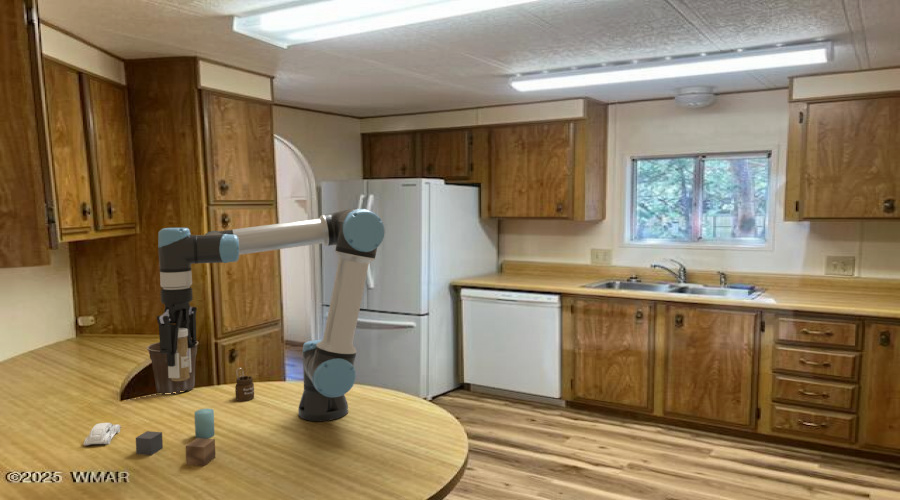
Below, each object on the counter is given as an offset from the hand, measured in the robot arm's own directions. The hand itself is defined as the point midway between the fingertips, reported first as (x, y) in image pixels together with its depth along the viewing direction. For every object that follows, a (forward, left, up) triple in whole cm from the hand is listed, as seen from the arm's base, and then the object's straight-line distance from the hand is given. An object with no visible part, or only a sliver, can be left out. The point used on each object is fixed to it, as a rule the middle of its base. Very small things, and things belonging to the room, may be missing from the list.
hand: (180, 374), depth 158 cm
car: (+27, -3, -21) cm, 34 cm away
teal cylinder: (0, -10, -21) cm, 23 cm away
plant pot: (+34, -45, -21) cm, 60 cm away
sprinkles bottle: (0, 0, -1) cm, 1 cm away
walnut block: (-8, +5, -21) cm, 23 cm away
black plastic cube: (+9, +2, -21) cm, 22 cm away
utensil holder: (+5, -41, -21) cm, 46 cm away
